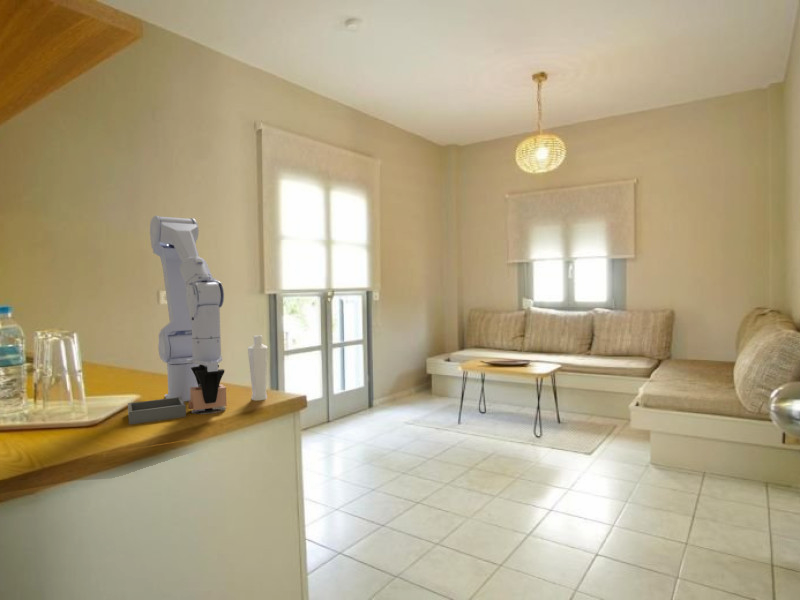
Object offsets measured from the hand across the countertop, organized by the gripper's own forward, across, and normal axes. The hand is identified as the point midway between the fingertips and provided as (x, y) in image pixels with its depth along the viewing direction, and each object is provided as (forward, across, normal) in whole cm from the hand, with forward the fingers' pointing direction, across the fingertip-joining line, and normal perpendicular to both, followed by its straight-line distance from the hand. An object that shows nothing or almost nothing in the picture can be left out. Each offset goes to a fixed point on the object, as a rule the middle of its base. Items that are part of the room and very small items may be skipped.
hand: (208, 400), depth 106 cm
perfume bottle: (+2, -4, +12) cm, 13 cm away
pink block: (+1, 0, 0) cm, 1 cm away
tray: (+2, -1, -10) cm, 10 cm away
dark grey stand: (+2, 0, 0) cm, 2 cm away
